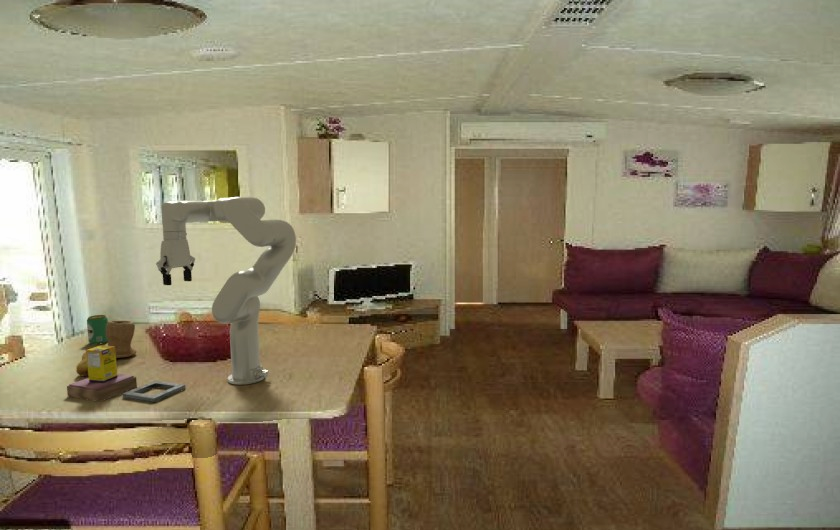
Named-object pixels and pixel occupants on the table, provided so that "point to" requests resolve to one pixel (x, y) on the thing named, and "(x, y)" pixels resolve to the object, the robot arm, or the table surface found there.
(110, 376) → the supplement box
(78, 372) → the bread roll
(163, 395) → the frame
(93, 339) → the beverage can
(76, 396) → the pedestal
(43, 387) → the table surface
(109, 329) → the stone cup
